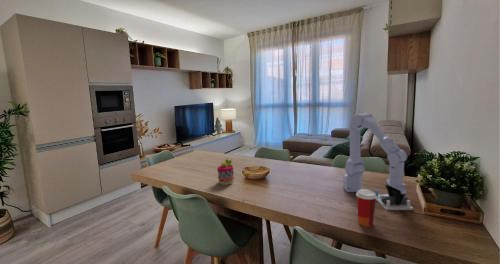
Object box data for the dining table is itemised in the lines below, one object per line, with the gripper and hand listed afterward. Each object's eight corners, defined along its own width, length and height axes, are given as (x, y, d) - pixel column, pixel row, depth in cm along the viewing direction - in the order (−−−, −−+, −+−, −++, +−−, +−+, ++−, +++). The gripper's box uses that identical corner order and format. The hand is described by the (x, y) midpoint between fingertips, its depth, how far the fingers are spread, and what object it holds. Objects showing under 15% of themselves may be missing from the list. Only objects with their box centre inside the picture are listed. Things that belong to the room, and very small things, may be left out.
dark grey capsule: (383, 205, 114) (384, 198, 114) (380, 202, 118) (380, 195, 117) (410, 205, 113) (410, 198, 113) (405, 201, 117) (406, 194, 116)
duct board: (386, 210, 112) (386, 202, 111) (372, 196, 127) (372, 189, 126) (413, 209, 111) (413, 201, 110) (396, 196, 126) (396, 188, 125)
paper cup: (369, 218, 106) (370, 188, 103) (379, 227, 98) (380, 195, 96) (351, 219, 105) (352, 189, 103) (360, 228, 98) (361, 196, 96)
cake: (230, 186, 150) (229, 163, 148) (215, 185, 154) (213, 162, 151) (236, 180, 160) (235, 158, 157) (222, 179, 163) (220, 158, 161)
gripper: (414, 180, 106) (412, 209, 108) (397, 170, 120) (395, 195, 122) (397, 180, 106) (396, 209, 108) (382, 170, 121) (381, 195, 123)
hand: (394, 201), depth 115 cm, fingers open, 5 cm apart
